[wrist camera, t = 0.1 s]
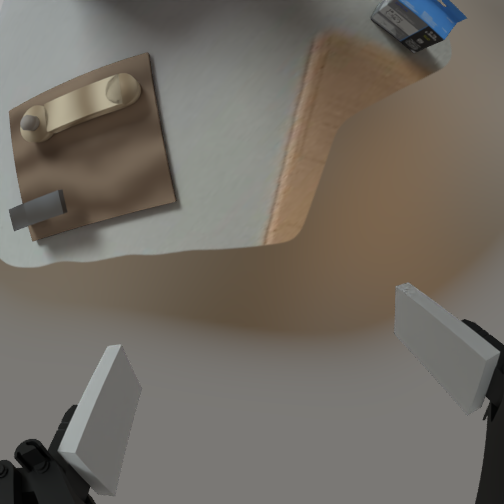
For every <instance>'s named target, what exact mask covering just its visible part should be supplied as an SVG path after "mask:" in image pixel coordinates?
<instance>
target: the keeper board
mask: <svg viewBox="0 0 504 504" xmlns="http://www.w3.org/2000/svg"><path fill="white" fill-rule="evenodd" d="M120 73H127V74H130V75H131V76H132V77H134V78H135V79H136V80H137V81H138V82H139V84H140V86H141V94H140V97H139V98H138V100H137V101H136V102H135V103H134V104H133V105H131V106H128V107H125V108H122V109H119V110H116V111H113V112H110V113H107V114H104V115H101V116H99V117H96V118H93V119H90V120H88V121H85V122H82V123H80V124H77V125H75V126H72V127H70V128H67V129H65V130H63V131H60V132H58V133H54V134H53V135H52V137H51V138H50V139H49V140H47V141H45V142H42V143H38V142H28V141H26V140H25V139H24V138H23V137H22V135H21V130H20V123H21V120H22V118H23V116H24V114H25V113H26V111H27V110H28V109H30V108H31V107H33V106H36V105H40V106H44V104H46V103H48V102H50V101H52V100H54V99H56V98H59V97H61V96H63V95H65V94H68V93H70V92H72V91H75V90H77V89H79V88H82V87H84V86H87V85H89V84H92V83H95V82H97V81H100V80H103V79H105V78H108V77H111V76H114V75H117V74H120ZM9 118H10V129H11V138H12V146H13V154H14V160H15V167H16V172H17V178H18V183H19V188H20V193H21V198H22V202H23V204H21V205H19V206H16V207H14V208H12V209H9V213H10V217H11V221H12V225H13V229H14V231H16V230H19V229H21V228H24V227H27V226H28V227H29V231H30V234H31V238H32V241H36V240H39V239H42V238H45V237H48V236H52V235H55V234H58V233H61V232H65V231H68V230H71V229H75V228H78V227H81V226H85V225H88V224H92V223H95V222H99V221H102V220H106V219H110V218H113V217H117V216H121V215H124V214H128V213H132V212H136V211H140V210H144V209H148V208H152V207H156V206H160V205H164V204H168V203H172V202H176V201H177V200H176V196H175V192H174V187H173V182H172V178H171V173H170V168H169V164H168V159H167V154H166V149H165V144H164V139H163V133H162V128H161V123H160V117H159V112H158V106H157V100H156V94H155V88H154V82H153V76H152V69H151V63H150V56H149V53H148V52H147V53H143V54H140V55H137V56H134V57H130V58H127V59H124V60H121V61H118V62H115V63H112V64H110V65H107V66H104V67H101V68H99V69H96V70H93V71H91V72H88V73H86V74H83V75H81V76H78V77H76V78H74V79H71V80H69V81H67V82H65V83H62V84H60V85H58V86H56V87H54V88H52V89H50V90H47V91H45V92H43V93H41V94H39V95H37V96H35V97H34V98H32V99H30V100H28V101H26V102H24V103H22V104H20V105H19V106H17V107H15V108H13V109H12V110H10V111H9Z"/></svg>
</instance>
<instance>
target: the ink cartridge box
mask: <svg viewBox="0 0 504 504" xmlns="http://www.w3.org/2000/svg"><path fill="white" fill-rule="evenodd" d="M442 2H443V3H444V4H445V5H446V7H444V6H443V5H442V4H441V3H439V2H438V1H437V0H384V1H382V2H381V3H380V4H379V5H378V6H377V7H376V9H375V11H374V13H373V14H372V16H371V19H372V20H373V21H374V22H376V23H377V24H378V25H380V26H381V27H382V28H384V29H385V30H386V31H388V32H389V33H390V34H391V35H393V36H394V37H395V38H396V39H398V40H399V41H400V42H401V43H403V44H404V45H405V46H406V47H407V48H408V49H410V50H411V51H412V52H413V53H415V52H418V51H420V50H422V49H424V48H427V47H429V46H431V45H434V44H436V43H438V42H441V41H443V40H445V38H446V37H447V36H448V34H449V33H450V32H451V30H452V29H453V27H454V26H455V25H456V23H457V22H460V21H462V20H464V19H466V18H467V17H466V16H465V15H464V14H463V13H462V12H461V11H460V10H459V9H458V8H457V7H456V6H455V5H454V4H453V3H452V2H450V1H449V0H442Z"/></svg>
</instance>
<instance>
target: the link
mask: <svg viewBox="0 0 504 504" xmlns="http://www.w3.org/2000/svg"><path fill="white" fill-rule="evenodd" d="M140 94H141V86H140V84H139V82H138V81H137V80H136V79H135V78H134V77H132V76H131V75H130V74H127V73H120V74H117V75H114V76H111V77H108V78H105V79H103V80H100V81H97V82H95V83H92V84H89V85H87V86H84V87H82V88H79V89H77V90H75V91H72V92H70V93H68V94H65V95H63V96H61V97H59V98H56V99H54V100H52V101H50V102H48V103H46V104H44V106H40V105H36V106H33V107H31V108H30V109H28V110H27V111H26V113H25V114H24V116H23V118H22V120H21V123H20V130H21V135H22V137H23V138H24V139H25V140H26V141H28V142H38V143H42V142H45V141H47V140H49V139H50V138H51V137H52V135H53V134H54V133H58V132H60V131H63V130H65V129H67V128H70V127H72V126H75V125H77V124H80V123H82V122H85V121H88V120H90V119H93V118H96V117H99V116H101V115H104V114H107V113H110V112H113V111H116V110H119V109H122V108H125V107H128V106H131V105H133V104H134V103H135V102H136V101H137V100H138V98H139V97H140Z"/></svg>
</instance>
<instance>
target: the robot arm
mask: <svg viewBox="0 0 504 504" xmlns="http://www.w3.org/2000/svg"><path fill="white" fill-rule="evenodd" d="M394 334H395V335H396V336H397V338H398V339H399V340H400V341H401V342H402V343H403V344H404V345H405V346H406V347H407V348H408V349H409V350H410V352H411V353H412V354H413V355H414V356H415V357H416V358H417V359H418V360H419V361H420V362H421V363H422V365H423V366H424V367H425V368H426V369H427V370H428V371H429V372H430V373H431V374H432V376H433V377H434V378H435V379H436V380H437V381H438V382H439V384H440V385H441V386H442V387H443V388H444V389H445V390H446V391H447V392H448V394H449V395H450V396H451V397H452V398H453V399H454V401H455V402H456V403H457V404H458V405H459V406H460V408H461V409H462V410H463V411H464V412H465V413H466V415H469V414H471V413H473V412H474V411H476V410H477V409H479V408H481V407H482V404H483V402H484V399H485V396H486V397H487V398H488V399H489V400H490V403H489V406H488V408H487V410H486V412H485V415H484V417H483V420H485V419H486V417H487V415H488V418H487V432H486V442H485V451H484V459H483V466H482V472H481V478H480V483H479V489H478V493H477V498H476V502H475V504H504V345H503V344H502V343H501V342H499V341H498V340H497V339H495V338H494V337H493V336H491V335H489V334H488V332H486V331H485V330H483V329H482V328H481V327H480V326H478V325H477V324H476V323H474V322H471V321H468V320H466V319H464V320H462V321H460V320H459V319H458V318H456V317H455V316H454V315H452V314H451V313H449V312H448V311H447V310H446V309H444V308H443V307H442V306H440V305H439V304H438V303H436V302H435V301H434V300H432V299H431V298H429V297H428V296H426V295H425V294H424V293H422V292H421V291H420V290H418V289H417V288H415V287H414V286H413V285H411V284H410V283H405V284H402V285H398V286H396V297H395V327H394ZM141 390H142V387H141V385H140V383H139V381H138V379H137V377H136V375H135V373H134V371H133V369H132V366H131V364H130V362H129V360H128V358H127V355H126V353H125V351H124V349H123V346H122V345H121V344H120V345H113V346H108V347H107V349H106V350H105V353H104V354H103V356H102V358H101V360H100V362H99V364H98V366H97V368H96V370H95V372H94V374H93V376H92V378H91V380H90V382H89V384H88V386H87V388H86V390H85V392H84V394H83V396H82V398H81V400H80V402H79V404H78V405H73V406H72V407H71V408H70V409H69V410H68V411H67V412H66V413H65V415H64V417H63V419H62V423H61V424H60V425H59V427H58V431H57V432H56V434H55V436H54V438H53V440H52V442H51V445H50V447H49V449H48V451H47V450H46V448H45V447H44V446H43V445H42V443H41V442H40V441H38V440H36V439H29V440H26V441H24V442H23V443H21V444H20V445H19V446H18V447H17V448H16V451H15V454H14V455H15V456H14V457H15V459H16V460H17V461H18V463H19V464H20V465H21V466H22V467H23V468H16V467H14V465H13V464H12V463H11V462H10V461H7V460H1V461H0V504H96V503H95V502H94V500H93V498H92V497H91V496H90V495H89V494H88V492H89V488H90V487H91V488H92V489H93V490H94V491H95V492H96V493H97V494H100V495H109V496H115V494H116V490H117V485H118V481H119V476H120V472H121V467H122V463H123V459H124V455H125V451H126V446H127V442H128V438H129V435H130V430H131V427H132V423H133V419H134V415H135V412H136V408H137V405H138V401H139V397H140V394H141Z"/></svg>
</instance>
